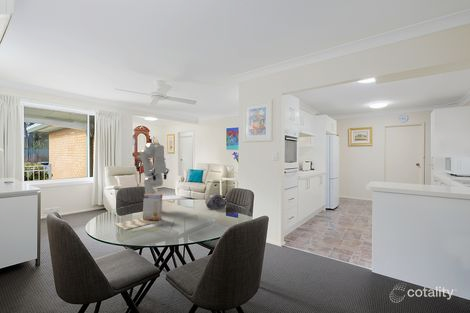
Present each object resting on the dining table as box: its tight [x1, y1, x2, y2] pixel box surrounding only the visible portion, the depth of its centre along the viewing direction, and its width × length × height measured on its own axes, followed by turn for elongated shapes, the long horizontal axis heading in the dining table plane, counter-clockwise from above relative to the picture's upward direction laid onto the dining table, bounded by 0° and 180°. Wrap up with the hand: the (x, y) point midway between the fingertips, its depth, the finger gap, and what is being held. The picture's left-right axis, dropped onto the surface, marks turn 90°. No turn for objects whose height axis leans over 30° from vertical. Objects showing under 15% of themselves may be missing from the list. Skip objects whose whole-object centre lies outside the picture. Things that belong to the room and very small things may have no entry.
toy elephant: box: [205, 193, 229, 210], centre depth 233 cm, size 20×18×15 cm
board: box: [114, 217, 154, 231], centre depth 183 cm, size 22×20×1 cm
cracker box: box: [142, 193, 163, 221], centre depth 194 cm, size 14×6×21 cm, turn 84°
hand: (159, 179), depth 200 cm, fingers open, 9 cm apart
